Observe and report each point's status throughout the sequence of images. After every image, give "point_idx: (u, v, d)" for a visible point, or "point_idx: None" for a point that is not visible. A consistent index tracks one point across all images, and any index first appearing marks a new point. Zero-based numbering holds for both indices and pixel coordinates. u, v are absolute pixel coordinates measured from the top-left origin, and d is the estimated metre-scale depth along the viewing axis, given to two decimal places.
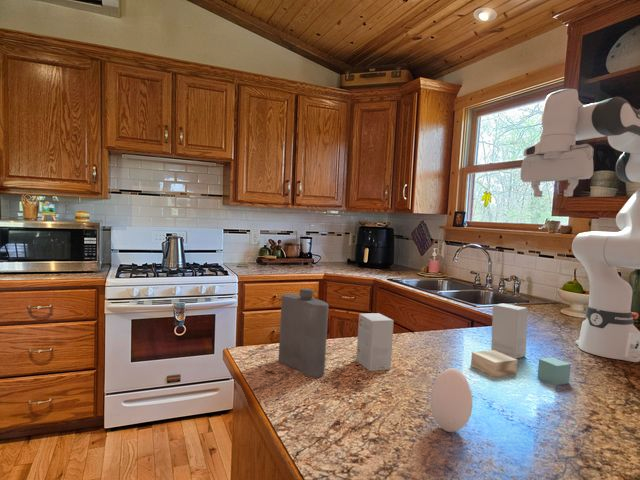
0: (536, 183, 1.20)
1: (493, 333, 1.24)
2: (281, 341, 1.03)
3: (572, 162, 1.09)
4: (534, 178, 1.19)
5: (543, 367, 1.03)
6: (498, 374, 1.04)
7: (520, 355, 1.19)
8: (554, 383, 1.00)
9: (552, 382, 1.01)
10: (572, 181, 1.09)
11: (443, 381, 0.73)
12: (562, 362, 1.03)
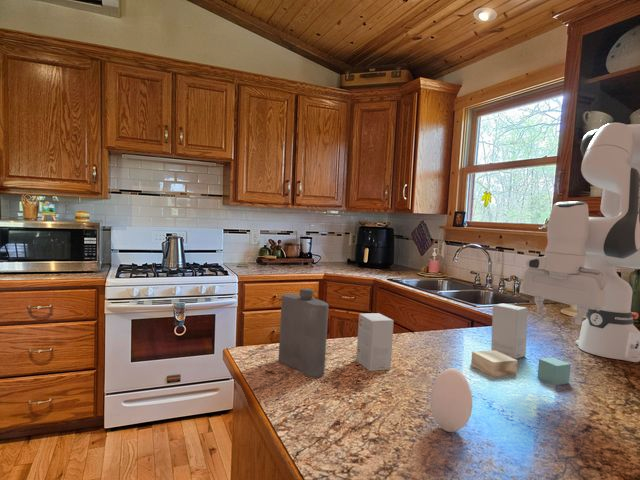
0: (540, 299, 1.07)
1: (493, 333, 1.24)
2: (281, 341, 1.03)
3: (581, 288, 0.96)
4: (538, 294, 1.06)
5: (543, 367, 1.03)
6: (497, 374, 1.04)
7: (520, 355, 1.19)
8: (554, 383, 1.00)
9: (552, 382, 1.01)
10: (581, 309, 0.96)
11: (443, 381, 0.73)
12: (562, 362, 1.03)
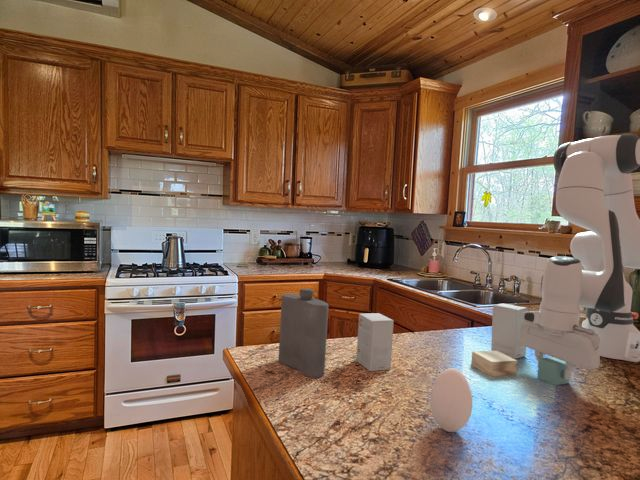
0: (540, 353, 1.06)
1: (493, 333, 1.24)
2: (281, 341, 1.03)
3: (576, 347, 0.97)
4: (533, 347, 1.07)
5: (543, 366, 1.03)
6: (495, 374, 1.04)
7: (520, 355, 1.19)
8: (554, 383, 1.00)
9: (552, 382, 1.01)
10: (570, 365, 0.98)
11: (443, 381, 0.73)
12: (562, 361, 1.03)
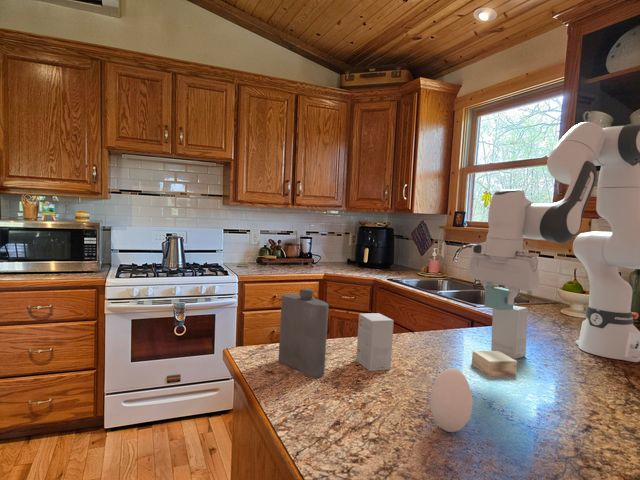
0: (488, 284, 1.11)
1: (493, 333, 1.24)
2: (281, 341, 1.03)
3: (517, 271, 1.01)
4: (481, 278, 1.11)
5: (489, 294, 1.08)
6: (494, 373, 1.04)
7: (520, 355, 1.19)
8: (498, 308, 1.05)
9: (496, 307, 1.05)
10: (512, 290, 1.03)
11: (443, 381, 0.73)
12: (507, 289, 1.07)
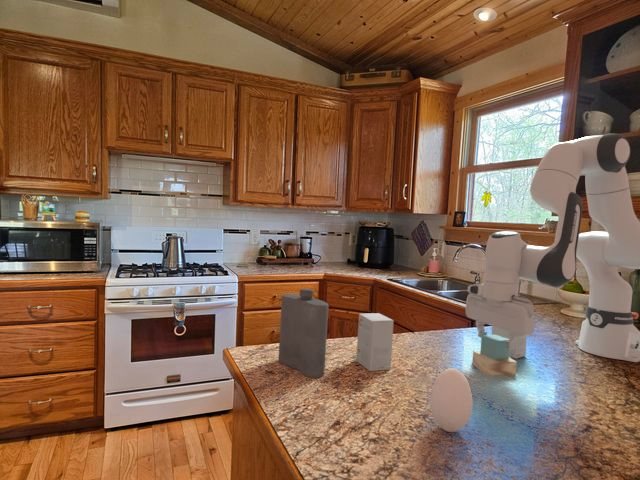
0: (480, 323, 1.13)
1: (493, 333, 1.24)
2: (281, 341, 1.03)
3: (513, 316, 1.02)
4: (478, 318, 1.12)
5: (485, 343, 1.08)
6: (492, 373, 1.05)
7: (520, 355, 1.19)
8: (494, 358, 1.06)
9: (492, 357, 1.06)
10: (513, 335, 1.02)
11: (443, 381, 0.73)
12: (502, 338, 1.08)
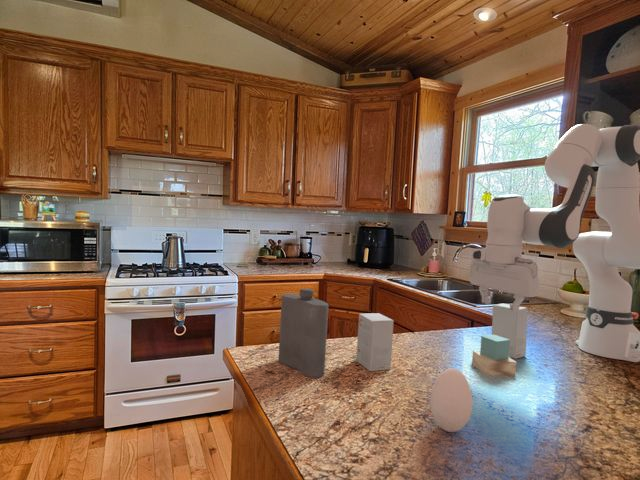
0: (484, 288, 1.12)
1: (493, 333, 1.24)
2: (281, 341, 1.03)
3: (517, 277, 1.01)
4: (481, 284, 1.11)
5: (485, 343, 1.08)
6: (491, 373, 1.05)
7: (520, 355, 1.19)
8: (494, 358, 1.05)
9: (493, 357, 1.06)
10: (517, 297, 1.01)
11: (443, 381, 0.73)
12: (502, 338, 1.08)
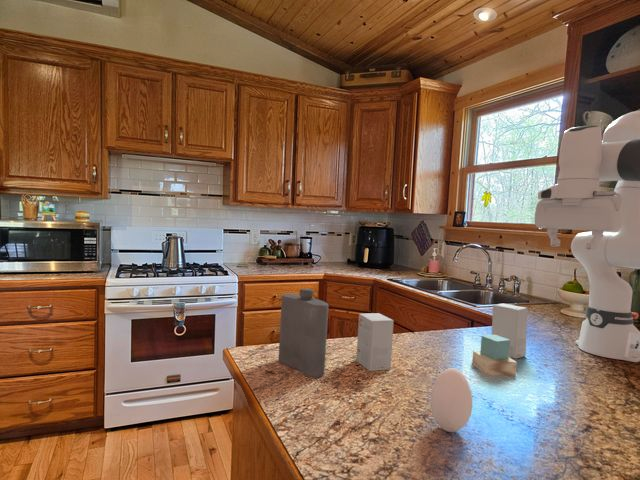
0: (553, 230, 1.04)
1: (493, 333, 1.24)
2: (281, 341, 1.03)
3: (596, 212, 0.93)
4: (551, 225, 1.04)
5: (485, 343, 1.08)
6: (492, 373, 1.04)
7: (520, 355, 1.19)
8: (494, 358, 1.05)
9: (493, 357, 1.06)
10: (596, 234, 0.94)
11: (443, 381, 0.73)
12: (502, 338, 1.08)
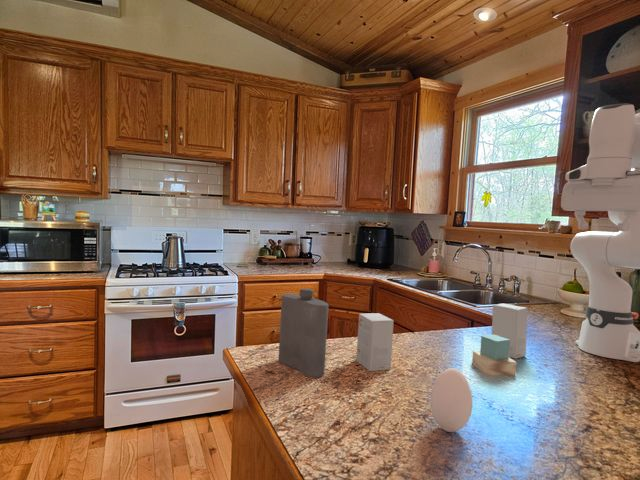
0: (581, 212, 1.02)
1: (493, 333, 1.24)
2: (281, 341, 1.03)
3: (629, 191, 0.91)
4: (579, 207, 1.01)
5: (485, 343, 1.08)
6: (491, 373, 1.04)
7: (520, 355, 1.19)
8: (494, 358, 1.05)
9: (493, 357, 1.06)
10: (629, 214, 0.91)
11: (443, 381, 0.73)
12: (502, 338, 1.08)
